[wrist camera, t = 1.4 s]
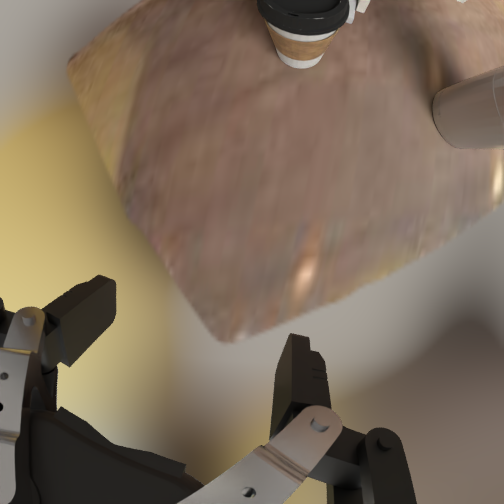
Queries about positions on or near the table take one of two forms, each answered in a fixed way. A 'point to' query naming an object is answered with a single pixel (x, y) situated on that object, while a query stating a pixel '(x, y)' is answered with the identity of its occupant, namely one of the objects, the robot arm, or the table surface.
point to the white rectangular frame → (361, 7)
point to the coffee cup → (303, 27)
